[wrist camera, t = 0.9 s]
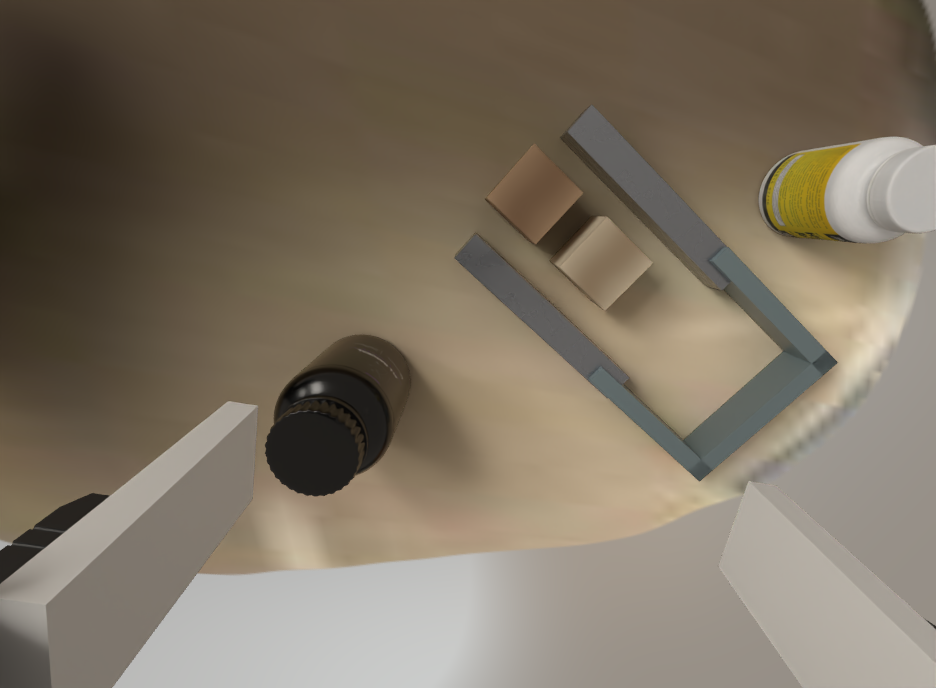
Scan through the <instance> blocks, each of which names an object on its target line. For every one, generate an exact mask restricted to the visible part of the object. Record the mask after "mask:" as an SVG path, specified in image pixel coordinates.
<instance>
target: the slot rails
mask: <svg viewBox="0 0 936 688" xmlns="http://www.w3.org/2000/svg"><path fill="white" fill-rule="evenodd" d="M560 138H561V139H562V140H563V141H564V142H565V143H566V144H567V145H568V146H569V147H570V148H571V149H572V150H573V151H574V153H575V154H576V155H577V156H578V157H579V158H580V159H581V160H582V161H583V162H584V163H585V164H586V165H587V166H588V167H589V168H590V169H591V170H592V171H593V172H594V173H595V174H596V175H597V176H598V177H599V178H600V179H601V180H602V181H603V182H604V183H605V184H606V185H607V186H608V187H609V188H610V189H611V190H612V191H613V192H614V193H615V194H616V195H617V196H618V197H619V198H620V199H621V201H622V202H623V203H624V204H625V205H626V206H627V207H628V208H629V209H630V210H631V211H632V212H633V213H634V214H635V215H636V216H637V217H638V218H639V219H640V220H641V221H642V222H643V223H644V224H645V225H646V226H647V227H648V228H649V229H650V230H651V231H652V232H653V233H654V234H655V235H656V236H657V237H658V238H659V239H660V240H661V241H662V242H663V243H664V244H665V245H666V246H667V247H668V249H669V250H670V251H671V252H672V253H673V254H674V255H675V256H676V257H677V258H678V259H679V260H680V261H681V262H682V263H683V264H684V265H685V266H686V267H687V268H688V269H689V270H690V271H691V272H692V273H693V274H694V275H695V276H696V277H697V278H698V279H699V280H700V281H701V282H702V283H703V284H704V285H706V286H709V287H712V288H716V289H719V290H723V289H724V288H725V287H726V286H727V285H728V284H729V283H730V282H729V281H728V280H727V279H726V277H725V276H724V275H723V274H722V273H721V272H720V271H719V270H718V269H717V268H716V267H715V266H714V265H713V264H712V263H711V262H710V260H711V259H712V258H713V257H714V256H715V255H716V254H717V253H718V252H719V251H721V250H722V249H723V248H724V247H727V246H726V245H725V244H724V243H723V242H722V241H721V240H720V239H719V238H718V237H717V236H716V235H715V234H714V233H713V232H712V231H711V230H710V228H709V227H708V226H707V225H706V224H705V223H704V222H703V221H702V220H701V219H700V218H699V217H698V216H697V215H696V214H695V213H694V212H693V211H692V209H691V208H690V207H689V206H688V205H687V204H686V203H685V202H684V201H683V200H682V199H681V198H680V197H679V196H678V195H677V194H676V193H675V192H674V191H673V189H672V188H671V187H670V186H669V185H668V184H667V183H666V182H665V181H664V180H663V179H662V178H661V177H660V176H659V175H658V174H657V173H656V172H655V170H654V169H653V168H652V167H651V166H650V165H649V164H648V163H647V162H646V161H645V160H644V159H643V158H642V157H641V156H640V155H639V154H638V153H637V152H636V150H635V149H634V148H633V147H632V146H631V145H630V144H629V143H628V142H627V141H626V140H625V139H624V138H623V137H622V136H621V135H620V134H619V133H618V132H617V130H616V129H615V128H614V127H613V126H612V125H611V124H610V123H609V122H608V121H607V120H606V119H605V118H604V117H603V116H602V115H601V114H600V113H599V111H598V110H597V109H596V108H595V107H594V106H593V105H591V106H589V107H588V108H587V109H586V110H585V111H584V112H583V113H582V114H581V115H580V116H579V117H578V118H577V119H576V120H575V122H574V123H573V124H572V125H571V126H570V127H569V128H568V129H567V131H566V132H565V133H564V134H563V135H562V136H561V137H560ZM455 259H456V260H457V261H458V262H459V263H460V264H461V265H462V266H463V267H465V268H466V269H467V270H468V271H469V272H470V273H471V274H472V275H473V276H474V277H476V278H477V279H478V280H479V281H480V282H481V283H482V284H483V285H484V286H485V287H486V288H488V289H489V290H490V291H491V292H492V293H493V294H494V295H495V296H496V297H497V298H498V299H500V300H501V301H502V302H503V303H504V304H505V305H506V306H507V307H508V308H509V309H510V310H512V311H513V312H514V313H515V314H516V315H517V316H518V317H519V318H520V319H521V320H522V321H524V322H525V323H526V324H527V325H528V326H529V327H530V328H531V329H532V330H533V331H534V332H536V333H537V334H538V335H539V336H540V337H541V338H542V339H543V340H544V341H545V342H546V343H548V344H549V345H550V346H551V347H552V348H553V349H554V350H555V351H556V352H557V353H559V354H560V355H561V356H562V357H563V358H564V359H565V360H566V361H567V362H568V363H569V364H571V365H572V366H573V367H574V368H575V369H576V370H577V371H578V372H579V373H580V374H581V375H583V376H584V377H585V378H586V379H587V380H588V381H589V379H588V378H589V377H590V376H591V375H592V374H593V373H595V372H596V371H597V370H598V369H599V368H600V367H601V366H602V367H603V368H604V369H605V370H606V371H607V372H608V373H609V374H610V375H611V376H612V377H613V378H615V379H616V380H617V381H618V382H619V383H620V384H621V385H622V384H624V383H625V382H626V381H627V380H628V379H629V377H628V376H627V375H626V374H625V373H624V372H623V371H622V370H621V368H620V367H619V366H618V365H617V364H615V363H614V362H613V361H612V360H611V359H610V358H609V357H608V356H607V355H606V354H605V353H604V352H603V351H602V350H600V349H599V348H598V347H597V346H596V345H595V344H594V343H593V342H592V341H591V340H590V339H589V338H588V337H587V336H586V335H584V334H583V333H582V332H581V331H580V330H579V329H578V328H577V327H576V326H575V325H574V324H573V323H572V322H571V321H570V320H568V319H567V318H566V317H565V316H564V315H563V314H562V313H561V312H560V311H559V310H558V309H557V308H556V307H555V306H554V305H552V304H551V303H550V302H549V301H548V300H547V299H546V298H545V297H544V296H543V295H542V294H541V293H540V292H539V291H538V290H536V289H535V288H534V287H533V286H532V285H531V284H530V283H529V282H528V281H527V280H526V279H525V278H524V277H523V276H521V275H520V274H519V273H518V272H517V271H516V270H515V269H514V268H513V267H512V266H511V265H510V264H509V263H508V262H507V261H505V260H504V259H503V258H502V257H501V256H500V255H499V254H498V253H497V252H496V251H495V250H494V249H493V248H492V247H491V246H489V245H488V244H487V243H486V242H485V241H484V240H483V239H482V238H481V237H480V236H479V235H478V234H477V233H476V232H475V233H474V235H473V236H472V237H471V238H470V239H469V240H468V241H467V242H466V244H465V245H464V246H463V247H462V248H461V249H460V250H459V251H458V253H457V254H456V255H455ZM589 382H590V381H589ZM590 383H591V382H590ZM591 384H592V383H591ZM592 385H593V386H595V385H594V384H592ZM595 387H596V386H595ZM596 388H597V387H596ZM597 389H598V388H597ZM598 390H599V389H598ZM599 391H600V390H599ZM600 392H601V391H600ZM601 393H602V392H601ZM602 394H603V393H602ZM603 395H604V394H603ZM604 396H605V397H607V396H606V395H604ZM607 398H608V397H607Z"/></svg>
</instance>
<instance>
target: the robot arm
mask: <svg viewBox="0 0 936 688" xmlns="http://www.w3.org/2000/svg"><path fill="white" fill-rule="evenodd" d="M257 417H258V406H257V405H251V404H244V403H238V402H231V401H228V402H226V403H225V404H224V405H223V406H221V407H220V408H219V409H218V410H216V411H215V412H214V413H213V414H211V415H210V416H209V417H208V418H206V419H205V420H204V421H203V422H201V423H200V424H199V425H198V426H197V427H195V428H194V429H193V430H192V431H190V432H189V433H188V434H187V435H185V436H184V437H183V438H182V439H180V440H179V441H178V442H177V443H175V444H174V445H173V446H172V447H170V448H169V449H168V450H167V451H165V452H164V453H163V454H162V455H160V456H159V457H158V458H157V459H155V460H154V461H153V462H152V463H150V464H149V465H148V466H147V467H145V468H144V469H143V470H142V471H140V472H139V473H138V474H137V475H135V476H134V477H133V478H132V479H130V480H129V481H128V482H127V483H125V484H124V485H123V486H122V487H120V488H119V489H118V490H117V491H115V492H114V493H113V494H112V495H110V496H108V495H101V494H94V493H91V494H89V495H87V496H84V497H82V498H80V499H77V500H75V501H73V502H71V503H68V504H66V505H64V506H61V507H59V508H58V509H57V510H55V511H54V512H53V513H51V514H50V515H48V516H47V517H46V518H44V519H43V520H42V521H40V522H39V523H37V524H36V525H35V527H34V529H33V530H31V529H29V530H28V531H27V532H25V533H24V534H22V535H21V536H20V537H18V538H17V539H16V540H14V541H13V544H12V545H11V546H6V547H5V548H3V549H2V550H1V551H0V688H112V687H113V686H114V685H115V683H116V682H117V681H118V679H119V678H120V677H121V675H122V674H123V672H124V671H125V670H126V668H127V667H128V666H129V664H130V663H131V662H132V660H133V659H134V658H135V656H136V655H137V654H138V652H139V651H140V650H141V648H142V647H143V645H144V644H145V643H146V641H147V640H148V639H149V637H150V636H151V635H152V633H153V632H154V631H155V629H156V628H157V627H158V625H159V624H160V623H161V621H162V620H163V619H164V617H165V616H166V614H167V613H168V612H169V610H170V609H171V608H172V607H173V605H174V604H175V603H176V601H177V600H178V598H179V597H180V595H181V594H182V593H183V592H184V590H185V589H186V588H187V586H188V585H189V584H190V582H191V581H192V580H193V578H194V577H195V576H196V574H197V573H198V572H199V570H200V569H201V568H202V566H203V565H204V564H205V562H206V561H207V559H208V558H209V557H210V555H211V554H212V553H213V551H214V550H215V549H216V547H217V546H218V545H219V543H220V542H221V541H222V539H223V538H224V537H225V535H226V534H227V533H228V531H229V530H230V529H231V527H232V526H233V525H234V523H235V522H236V520H237V519H238V518H239V516H240V515H241V514H242V512H243V511H244V510H245V508H246V507H247V506H248V504H249V503H250V502H251V500H252V499H253V484H254V467H255V450H256V434H257ZM718 567H719V569H720V570H721V571H722V573H723V574H724V576H725V577H726V579H727V580H728V582H729V583H730V584H731V586H732V587H733V589H734V590H735V592H736V593H737V594H738V596H739V597H740V599H741V600H742V601H743V603H744V604H745V606H746V607H747V609H748V610H749V612H750V613H751V614H752V616H753V617H754V619H755V620H756V622H757V623H758V625H759V626H760V627H761V629H762V630H763V632H764V633H765V634H766V636H767V637H768V639H769V640H770V642H771V643H772V645H773V646H774V647H775V649H776V650H777V652H778V653H779V655H780V656H781V658H782V659H783V660H784V662H785V663H786V665H787V666H788V668H789V669H790V670H791V672H792V673H793V675H794V676H795V678H796V679H797V681H798V682H799V683H800V685H801V686H802V688H936V626H935V625H933V624H932V623H930V622H929V621H927V620H926V619H924V618H923V617H922V616H920V615H919V614H918V613H917V612H916V611H915V610H914V609H913V608H911V607H910V606H909V605H908V604H907V603H906V602H905V601H904V600H903V599H902V598H900V597H899V596H898V595H897V594H896V593H895V592H894V591H893V590H891V589H890V588H889V587H888V586H887V585H886V584H885V583H884V582H882V581H881V580H880V579H879V578H878V577H877V576H876V575H875V574H874V573H873V572H872V571H870V570H869V569H868V568H867V567H866V566H865V565H864V564H863V563H862V562H861V561H859V560H858V559H857V558H856V557H855V556H854V555H853V554H852V553H851V552H849V551H848V550H847V549H846V548H845V547H844V546H843V545H842V544H841V543H839V542H838V541H837V540H836V539H835V538H834V537H833V536H832V535H831V534H829V533H828V532H827V531H826V530H825V529H824V528H823V527H822V526H821V525H819V524H818V523H817V522H816V521H815V520H814V519H813V518H812V517H811V516H809V515H808V514H807V513H806V512H805V511H804V510H803V509H802V508H801V507H799V506H798V505H797V504H796V503H795V502H794V501H793V500H792V499H791V498H789V497H788V496H787V495H786V494H785V493H784V492H783V491H782V490H781V489H779V488H778V487H777V486H776V485H771V484H765V483H758V482H752V481H748V484H747V487H746V490H745V492H744V495H743V498H742V501H741V504H740V506H739V510H738V512H737V515H736V518H735V520H734V523H733V526H732V529H731V532H730V534H729V537H728V540H727V543H726V546H725V549H724V551H723V554H722V557H721V560H720V562H719V565H718Z"/></svg>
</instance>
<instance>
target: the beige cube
mask: <svg viewBox="0 0 936 688" xmlns="http://www.w3.org/2000/svg"><path fill="white" fill-rule="evenodd" d="M550 262H551V263H552V264H553V265H554V266H555V267H556V268H557V269H558V270H560V271H561V272H562V273H563V274H564V275H565V276H566V277H567V278H568V279H569V280H570V281H571V282H572V283H573V284H574V285H575V286H576V287H577V288H578V289H579V290H580V291H581V292H582V293H584V294H585V295H586V296H587V297H588V298H589V299H590V300H591V301H592V302H594V303H595V304H596V305H598V306H599V307H600V308H602V309H603V310H604V311H605V310H606V309H607V308H608V307H609V306H610V305H611V304H612V303H613V302H614V301H615V300H616V299H617V298H618V297H619V296H620V295H622V294H623V293H624V292H625V291H626V290H627V289H628V288H629V287H630V286H631V285H632V284H633V283H634V282H635V281H636V280H637V279H638V278H639V277H640V276H641V275H642V274H643V273H644V272H645V271H646V270H647V269H648V268H649V267H650V266H651V265H652V264H653V262H652V261H651V260H650V259H649V258H648V257H647V256H646V255H645V254H644V253H643V252H642V251H641V250H640V249H639V248H638V247H637V246H636V245H635V244H634V243H633V242H632V241H631V240H630V239H629V238H628V237H627V236H626V235H625V234H624V233H623V232H622V231H621V230H620V229H619V228H618V227H617V226H616V225H615V224H614V223H613V222H612V221H611V220H610V219H609V218H608V217H602V216H591V217H590V218H589V219H588V220H587V222H586V223H585V224H584V225H583V226H582V227H581V228H580V229H579V230H578V231H577V232H576V233H575V234H574V235H573V236H572V237H571V238H570V239H569V240H568V242H567V243H566V244H565V245H564V246H563V247H562V248H561V249H560V250H559V251H558V252H557V253H556V254H555V255H554V256H553V257H552V258H551V259H550Z"/></svg>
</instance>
